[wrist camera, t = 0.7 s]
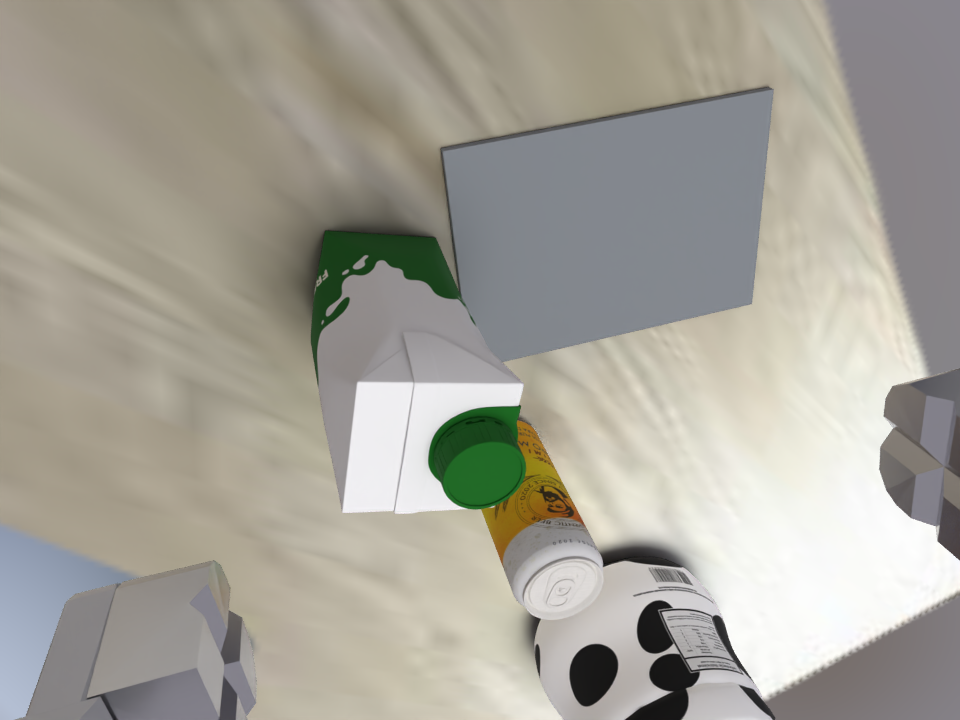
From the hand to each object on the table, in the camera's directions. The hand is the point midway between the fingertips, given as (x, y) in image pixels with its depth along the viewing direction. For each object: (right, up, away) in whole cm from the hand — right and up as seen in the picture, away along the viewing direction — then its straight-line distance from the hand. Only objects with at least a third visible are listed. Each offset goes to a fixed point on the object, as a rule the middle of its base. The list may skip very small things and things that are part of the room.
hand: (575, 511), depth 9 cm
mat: (+8, +11, +45) cm, 47 cm away
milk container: (+11, -22, +67) cm, 72 cm away
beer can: (0, -5, +53) cm, 53 cm away
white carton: (-8, +7, +43) cm, 44 cm away
